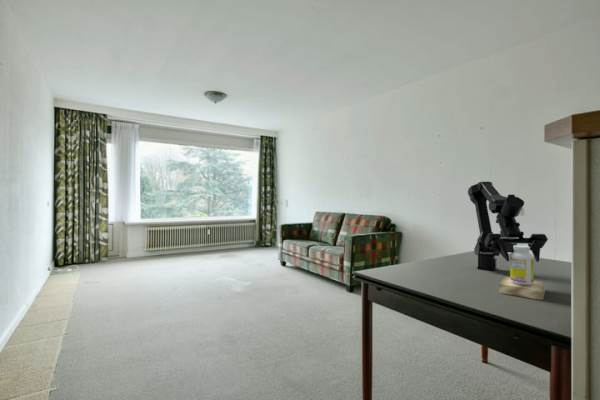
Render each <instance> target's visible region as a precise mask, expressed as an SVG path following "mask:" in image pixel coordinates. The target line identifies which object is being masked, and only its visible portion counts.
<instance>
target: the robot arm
mask: <svg viewBox="0 0 600 400" xmlns="http://www.w3.org/2000/svg"><path fill="white" fill-rule="evenodd" d="M467 195H468V196H469V201H471V202H472V203H473V204H474V206H475V213H476V219H477V223H478V229H479V230H478V231H479V235H478V237H477V239H476V243H475V246H474V249H473V250H474V254H475V255H476V256H477V266H476V269H478V270H483V271H484V270H485V271H490V272H491V271H493V272H494V271H495V270H496V269H497V261H498V260H497V259H498V258H496V256H497V257H499V256H500V255H501V256H502V257H503V259H504V260H505V261H506V262H510V254H511V253H513V252H514V249H513V246H514V245H520V244H521V245H525V244H526V245H527V246H529V247H530V250H529V251H531V253H532V256H533V259H535V261H536V263H538V262H540V257H541V249H543V248H544V246H545V245H546V243H547V241H549V239H548V236H547V235H546V234H545V233H532V234H530V236H529V237H524V235H525V233H524V231H521V228H520V226H521V224H520V222H517V220H516V217H518V216H519V215H520V213H521V211H522V209H523V207H524V205H525V201H524V199H522V198H520V197H518V196H516V195H515V194H508V195H507V196H503V195H502V194H500V192H498V190H497V189H496V188H495V187H494V185H493V182H492V181H480V182H477V183H476V184H473V185H470V187H469V188H468V190H467ZM487 202H489V203H488V204H487ZM488 210H489V211H490V212H491V213H492V214H496V217H495V218H496V220H495V223H496V224H498V225H499V228H500V231H499V233H494V232H493V230H492V225H491V221H490V215H489V214H490V213H489V211H488ZM509 253H510V254H509Z"/></svg>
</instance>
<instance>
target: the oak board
mask: <svg viewBox="0 0 600 400" xmlns="http://www.w3.org/2000/svg"><path fill="white" fill-rule="evenodd" d="M546 284H547V283H546V281H540V280H534V279H533V284H532V285H519V284H515V283H512V282H511V281H510V276H504V277H503V279H502V280H501V281H500V282H499V286H498V287H499V288H498V291H499V293H500V294H504V295H510V296H515V297H523V298H528V299H529V298H530V299H534V300H541V301H544V298H545V293H546V290H547V289H546V288H547V286H546Z"/></svg>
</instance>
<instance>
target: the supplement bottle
mask: <svg viewBox="0 0 600 400" xmlns="http://www.w3.org/2000/svg"><path fill="white" fill-rule="evenodd" d="M513 249H514V252H513V253H510V254H509V275H510V276H509V277H510V281H511V282H512V283H515V284H519V285H532V284H533V280H534V255H533V254H531V253H530V251H531V250H530V247H529V246H528V245H525V244H521V245H520V244H517V245H514V246H513Z"/></svg>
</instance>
